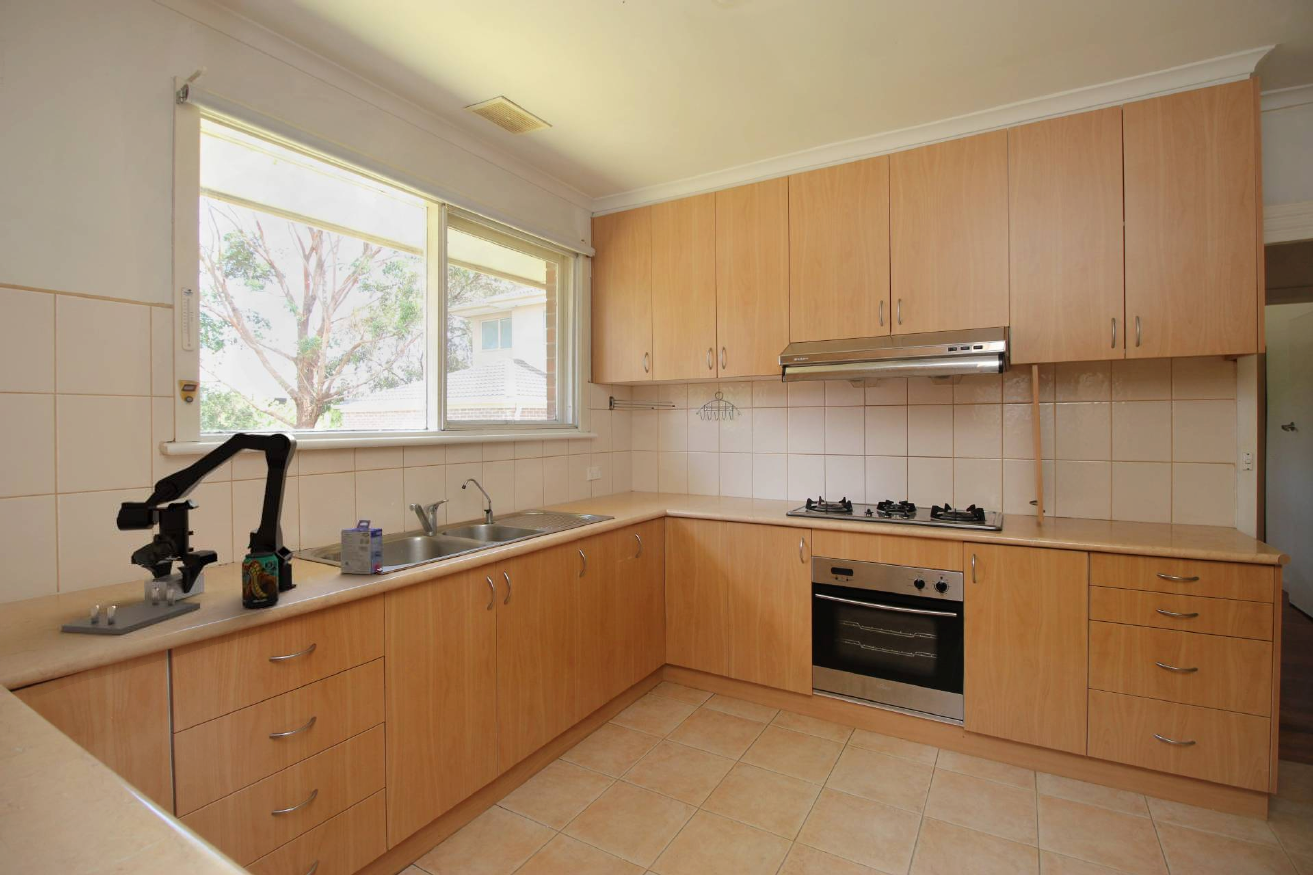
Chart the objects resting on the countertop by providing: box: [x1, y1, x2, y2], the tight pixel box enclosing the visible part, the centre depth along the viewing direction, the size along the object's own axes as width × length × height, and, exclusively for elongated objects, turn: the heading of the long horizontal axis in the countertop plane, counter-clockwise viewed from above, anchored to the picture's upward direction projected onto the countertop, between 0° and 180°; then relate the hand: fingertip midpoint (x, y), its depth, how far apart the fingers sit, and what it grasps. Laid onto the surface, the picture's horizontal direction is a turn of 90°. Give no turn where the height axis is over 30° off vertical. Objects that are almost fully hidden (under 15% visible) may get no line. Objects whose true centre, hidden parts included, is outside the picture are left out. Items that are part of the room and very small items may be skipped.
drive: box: [143, 571, 205, 602], centre depth 150 cm, size 6×10×5 cm, turn 171°
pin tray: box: [60, 588, 201, 635], centre depth 133 cm, size 14×18×5 cm
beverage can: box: [241, 552, 280, 610], centre depth 143 cm, size 7×7×12 cm
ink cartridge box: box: [340, 519, 383, 575], centre depth 175 cm, size 10×6×14 cm, turn 78°
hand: (175, 592), depth 150 cm, fingers closed on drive, 6 cm apart
